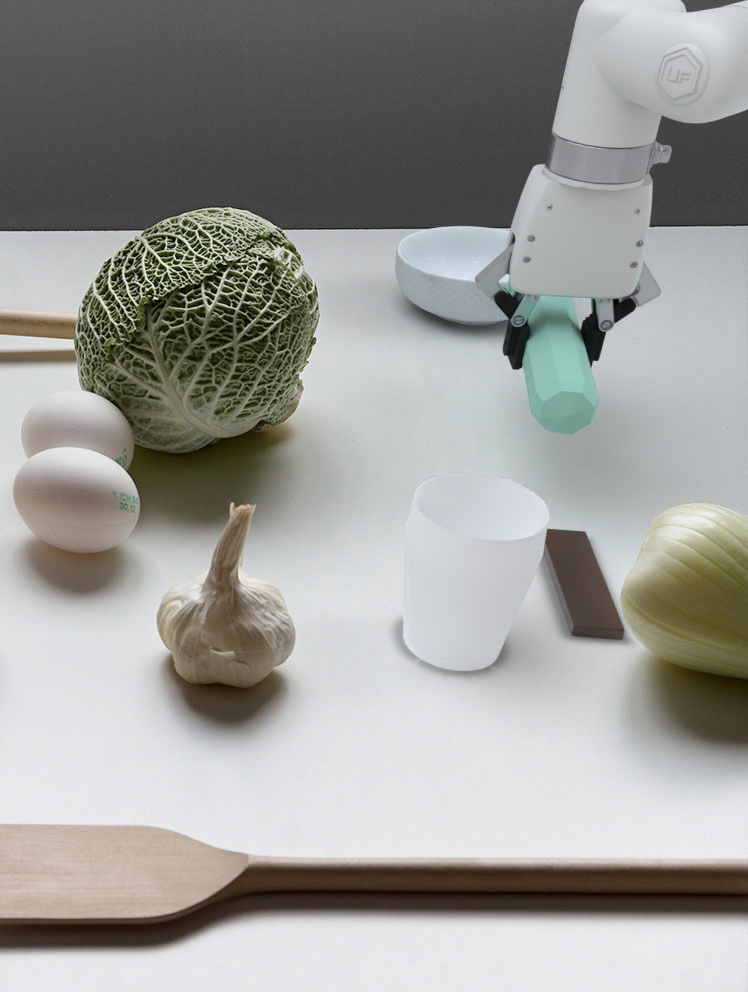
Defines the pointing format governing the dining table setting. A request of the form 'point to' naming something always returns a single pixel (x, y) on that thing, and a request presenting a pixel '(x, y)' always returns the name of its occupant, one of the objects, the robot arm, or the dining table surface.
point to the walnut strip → (581, 585)
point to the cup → (468, 566)
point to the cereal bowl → (451, 272)
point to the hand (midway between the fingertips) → (547, 363)
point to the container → (558, 367)
